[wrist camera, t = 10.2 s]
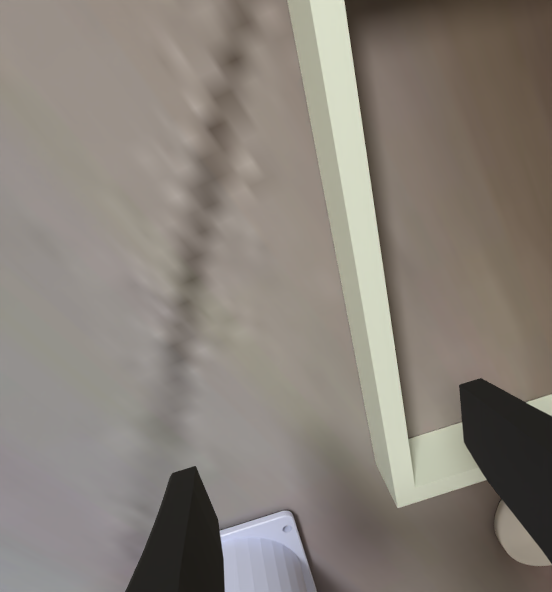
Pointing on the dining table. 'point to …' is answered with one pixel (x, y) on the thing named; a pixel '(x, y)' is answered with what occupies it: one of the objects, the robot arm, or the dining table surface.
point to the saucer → (517, 538)
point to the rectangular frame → (368, 264)
